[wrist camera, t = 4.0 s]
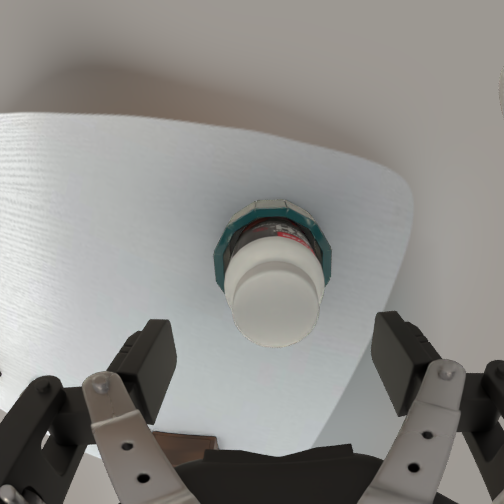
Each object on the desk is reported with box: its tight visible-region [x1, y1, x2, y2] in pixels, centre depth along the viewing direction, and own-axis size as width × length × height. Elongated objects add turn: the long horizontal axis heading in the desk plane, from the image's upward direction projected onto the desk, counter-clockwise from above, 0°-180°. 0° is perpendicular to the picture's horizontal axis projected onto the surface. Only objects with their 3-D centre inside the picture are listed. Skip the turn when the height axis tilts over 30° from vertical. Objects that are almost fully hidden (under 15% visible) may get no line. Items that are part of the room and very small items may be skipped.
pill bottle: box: [224, 217, 325, 348], centre depth 19 cm, size 5×5×10 cm
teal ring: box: [213, 199, 332, 294], centre depth 22 cm, size 7×7×4 cm
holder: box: [152, 431, 219, 468], centre depth 29 cm, size 7×7×4 cm
